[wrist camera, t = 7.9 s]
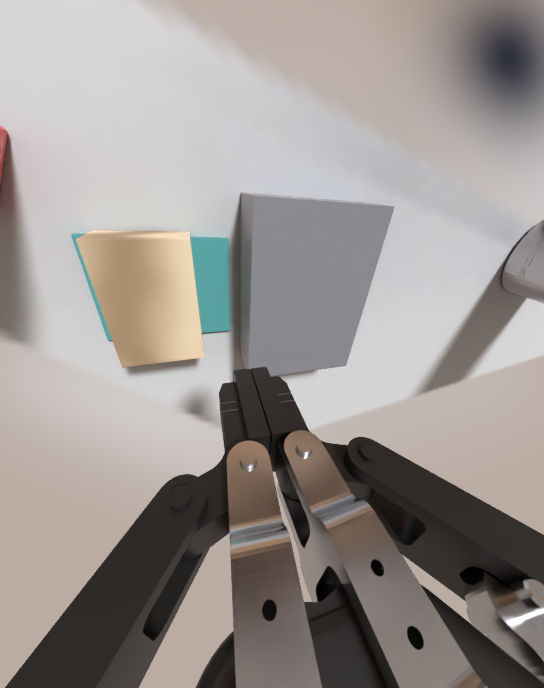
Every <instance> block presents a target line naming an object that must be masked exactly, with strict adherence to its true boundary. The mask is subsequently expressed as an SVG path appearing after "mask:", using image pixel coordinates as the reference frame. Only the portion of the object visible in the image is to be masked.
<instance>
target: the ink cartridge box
mask: <svg viewBox="0 0 544 688" xmlns="http://www.w3.org/2000/svg"><path fill="white" fill-rule="evenodd" d="M6 140H7V131H6V129H4V128H3V127H1V126H0V183H1V176H2V168H3V160H4V153H5V147H6Z"/></svg>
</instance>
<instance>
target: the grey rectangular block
mask: <svg viewBox="0 0 544 688" xmlns="http://www.w3.org/2000/svg"><path fill="white" fill-rule="evenodd" d="M393 210H394V206H386V205H378V204H370V203H361V202H349V201H337V200H324V199H312V198H299V197H287V196H275V195H262V194H250V193H241V302H240V354H241V357H242V361H243V364H244V367H245V369H250V368H258V367H267V369H268V371H269V374H270V376H276V375H283V374H290V373H297V372H305V371H312V370H319V369H326V368H334V367H341V366H346V364H347V360H348V357H349V354H350V351H351V347H352V344H353V341H354V338H355V334H356V331H357V328H358V324H359V321H360V318H361V315H362V311H363V308H364V305H365V302H366V298H367V295H368V292H369V288H370V285H371V282H372V279H373V275H374V272H375V269H376V265H377V262H378V259H379V256H380V252H381V249H382V246H383V243H384V239H385V236H386V233H387V229H388V226H389V223H390V220H391V216H392V213H393Z"/></svg>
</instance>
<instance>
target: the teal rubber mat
mask: <svg viewBox="0 0 544 688" xmlns="http://www.w3.org/2000/svg"><path fill="white" fill-rule="evenodd" d="M83 235H85V234H71V236H72V239H73V241H74V244H75V247H76V250H77V253H78V256H79V259H80V262H81V264H82V267H83V270H84V273H85V276H86V279H87V282H88V284H89V287H90V290H91V293H92V296H93V299H94V302H95V305H96V307H97V310H98V313H99V316H100V319H101V322H102V325H103V327H104V330H105V333H106V336H107V339H108V340H112V338H111V335H110V332H109V329H108V327H107V324H106V321H105V318H104V316H103V313H102V310H101V307H100V305H99V302H98V299H97V296H96V294H95V291H94V288H93V286H92V283H91V280H90V277H89V275H88V272H87V269H86V266H85V264H84V261H83V258H82V255H81V253H80V250H79V247H78V244H77V242H76V239H77V238H79V237H81V236H83ZM190 239H191V248H192V256H193V264H194V272H195V281H196V289H197V297H198V305H199V314H200V322H201V330H202V333H205V332H218V331H230V291H229V247H228V238H213V237H190Z"/></svg>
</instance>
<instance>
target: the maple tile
mask: <svg viewBox="0 0 544 688" xmlns="http://www.w3.org/2000/svg"><path fill="white" fill-rule="evenodd" d="M76 242H77V244H78V247H79V250H80V253H81V255H82V258H83V261H84V264H85V266H86V269H87V272H88V275H89V277H90V280H91V283H92V286H93V288H94V291H95V294H96V296H97V299H98V302H99V305H100V307H101V310H102V313H103V316H104V318H105V321H106V324H107V327H108V329H109V332H110V335H111V338H112V340H113V343H114V346H115V349H116V351H117V354H118V357H119V360H120V362H121V365H122V367H130V366H138V365H146V364H154V363H163V362H171V361H179V360H187V359H195V358H203V357H204V348H203V338H202V330H201V322H200V314H199V305H198V297H197V289H196V281H195V272H194V264H193V256H192V248H191V239H190V232H183V231H104V230H92V231H90V232H88V233H87V234H85V235H83V236H81V237H79V238H77V239H76Z"/></svg>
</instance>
